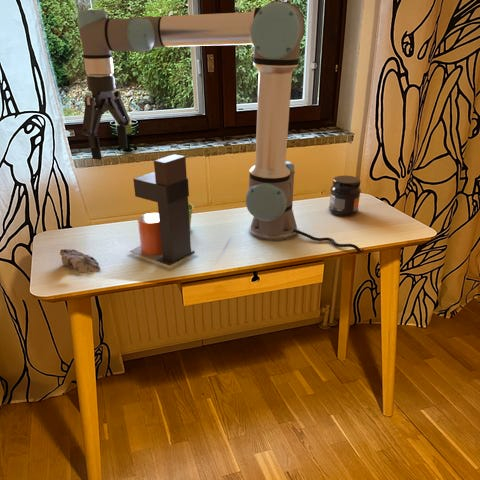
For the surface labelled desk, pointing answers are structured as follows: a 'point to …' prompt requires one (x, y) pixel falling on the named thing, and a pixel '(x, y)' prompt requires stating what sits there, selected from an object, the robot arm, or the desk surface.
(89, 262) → the mineral rock
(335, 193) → the supplement container
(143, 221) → the cup
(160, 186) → the coffee maker
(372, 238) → the desk surface
